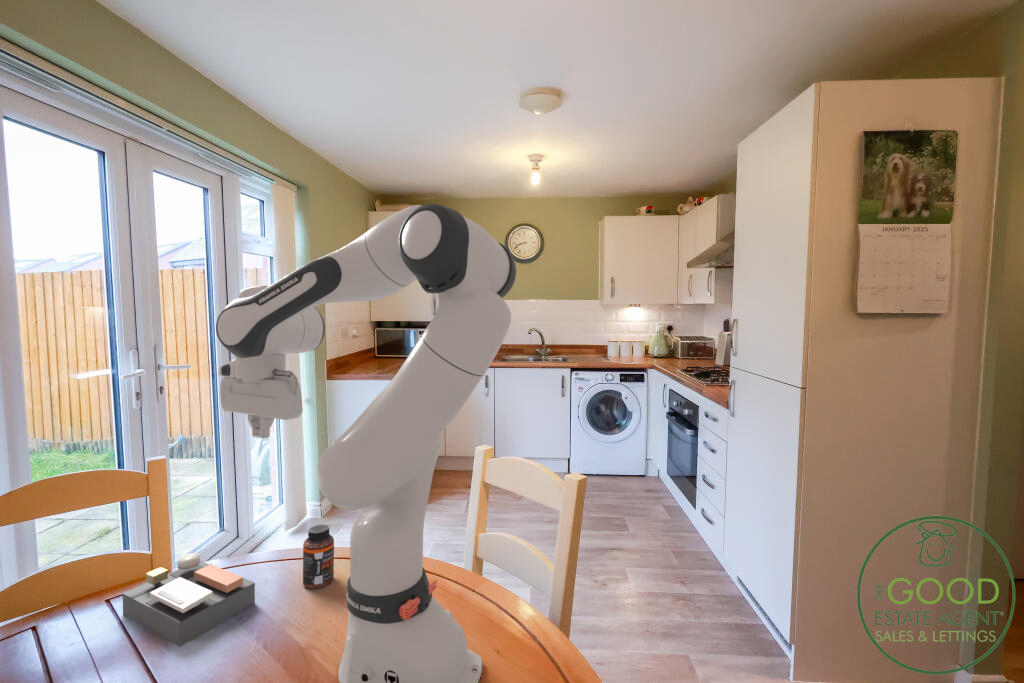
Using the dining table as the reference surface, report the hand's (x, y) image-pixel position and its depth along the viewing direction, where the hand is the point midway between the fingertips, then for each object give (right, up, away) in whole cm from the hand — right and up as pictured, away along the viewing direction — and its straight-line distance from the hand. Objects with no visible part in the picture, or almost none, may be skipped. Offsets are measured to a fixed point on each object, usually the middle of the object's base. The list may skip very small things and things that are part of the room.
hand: (260, 437), depth 88 cm
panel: (-10, -31, -6) cm, 33 cm away
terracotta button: (-6, -27, -4) cm, 27 cm away
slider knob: (-16, -27, -5) cm, 32 cm away
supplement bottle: (+10, -31, +4) cm, 33 cm away
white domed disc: (-14, -25, 0) cm, 29 cm away
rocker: (-8, -26, -10) cm, 29 cm away
